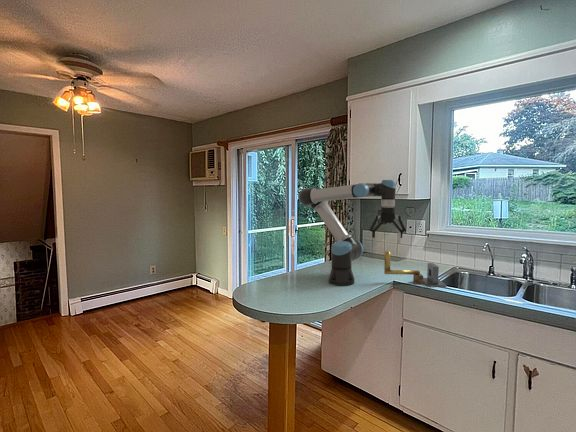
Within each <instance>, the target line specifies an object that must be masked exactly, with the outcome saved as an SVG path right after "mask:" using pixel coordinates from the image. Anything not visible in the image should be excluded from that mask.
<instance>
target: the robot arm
mask: <svg viewBox="0 0 576 432" xmlns="http://www.w3.org/2000/svg"><path fill="white" fill-rule="evenodd" d="M396 188H397V187H396V180H394V179H382V180H381V182H380V183H377V182H375V183H374V182H373V183H368V182H367V183H362V182H361V183H357V184H348V185H342V186H341V185H340V186H335V187H333V186H332V187H325V188H322V187H321V188H320V187H305V188H303V189H302V190H300V192H299V193H298V200H299V202H300V204H301V205H303V206H305V207H310V208H311V209H312V210H313V211H314V212H317V213H318V215H319V217H320V218H321V220H322V221H323V223H324V224H325V226H326V227H327V229H328V230H329V232H330V233H331V235H332V237H334V240H335V241H336V242H333V243H332V245H331V252H330V253H331V269H330V273H329V275H328V283H329V284H331V285H333V284H334V286H339V287H341V286H342V287H345V286H351V285H353V284H355V277H354V274H353V270H352V262H353V261H355V260H357V259H359V258H360V257H361V256H362V254H363V252H364V247H363V244H362V243H361V241H359V240H357V239H355V238H354V236H353V235H351V234H349V233H348V231H347V229H345V227H344V226H343V224H342V223H341V221H340V220H339V218H338V217H337V215H336V214H335V212H334V211H333V209H332V208H331V206H330V205H329V201H339V200H348V199H357V198H358V199H359V198H367V197H368V198H369V197H380V200H381V201H380V206H381V207H380V210H381V211H380V215H378V214H376V215H375V216H374V219H373V221H372V222H371V223H372V224H371V225H370V227H369V228H368V230H369V232H371V236H372V239H373V244H377V232H376V231H377V230H378V229H380V227H381V226H382V225H383V224H391V223H392V224H393V225H394V227H395V228H396V229H397V230H398V233H397V244H398V245H401V239H403V233H405V232H406V231H407V229H406V227H405V225H404V223H403V221H402V219H401V215H400V214H398V215H396V212H395V211H396V209H395V208H396V207H395V206H396ZM395 219H396V220H397V221H398V223H399V225H400V226H399V225H398V224H397V223H396V221H395ZM378 220H380V221H379V222H378ZM377 222H378V223H377ZM376 224H377V225H376Z"/></svg>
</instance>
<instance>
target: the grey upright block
mask: <svg viewBox="0 0 576 432" xmlns="http://www.w3.org/2000/svg"><path fill="white" fill-rule="evenodd" d="M426 268H427V269H426V270H427V271H426V277H423V285H426V287H439V288H441V287H442V288H443V287H444V288H445V287H447V284H446V283H444V282H443V281H442V280H441V279H439V268H440V266H438V265H436V264H435V263H433V262H427V267H426Z"/></svg>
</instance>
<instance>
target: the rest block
mask: <svg viewBox="0 0 576 432" xmlns="http://www.w3.org/2000/svg"><path fill="white" fill-rule="evenodd" d="M412 275H413V274H412ZM423 278H424V275H423V274H422V273H420V274H419V275H413V279H412V280H413V281H412V282H414V284H415V285H417V284H418V285H424V283H423Z"/></svg>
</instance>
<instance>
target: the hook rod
mask: <svg viewBox="0 0 576 432" xmlns="http://www.w3.org/2000/svg"><path fill="white" fill-rule="evenodd" d="M383 252H384V253H383V254H384V255H383V256H384V260H383V262H384V264H383V266H384V267H383V270H384V272H383V273H384V275H419V274H421V271H420V270H417V269H416V270H415V269H413V270H411V269H409V270H408V269H406V270H405V269H401V270H400V269H391V262H392V261H391V255H392V254H391V252H392V251H387V250H385V251H383Z"/></svg>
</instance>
